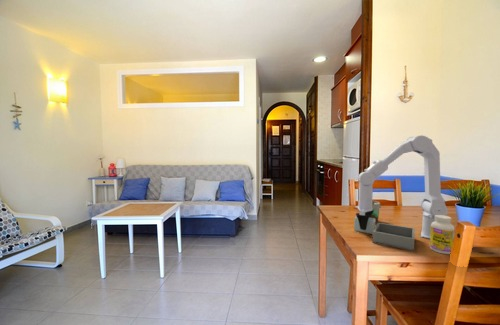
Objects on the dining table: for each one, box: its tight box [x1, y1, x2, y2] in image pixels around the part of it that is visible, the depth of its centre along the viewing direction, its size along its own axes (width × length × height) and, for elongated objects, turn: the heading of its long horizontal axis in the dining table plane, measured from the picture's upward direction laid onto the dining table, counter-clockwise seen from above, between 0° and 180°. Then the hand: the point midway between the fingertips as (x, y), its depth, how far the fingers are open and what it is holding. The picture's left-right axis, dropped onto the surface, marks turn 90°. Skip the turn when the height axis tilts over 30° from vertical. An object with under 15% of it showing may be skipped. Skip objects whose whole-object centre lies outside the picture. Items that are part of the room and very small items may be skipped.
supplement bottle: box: [429, 215, 455, 255], centre depth 85 cm, size 7×7×13 cm
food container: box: [371, 200, 382, 224], centre depth 121 cm, size 12×6×10 cm, turn 168°
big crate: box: [372, 222, 416, 252], centre depth 95 cm, size 14×15×4 cm
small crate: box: [353, 216, 376, 235], centre depth 107 cm, size 8×5×6 cm, turn 54°
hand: (364, 227), depth 107 cm, fingers open, 7 cm apart
